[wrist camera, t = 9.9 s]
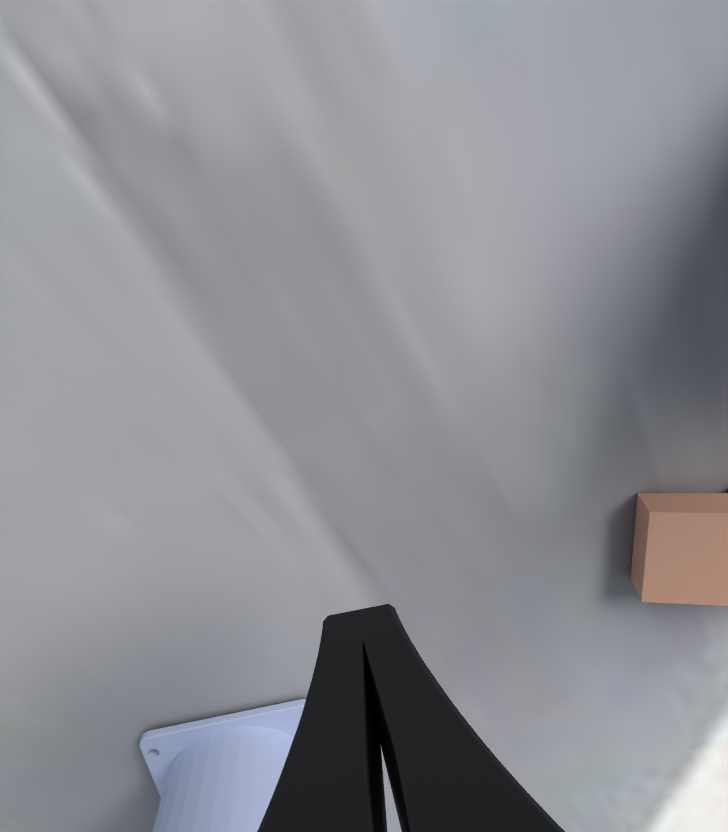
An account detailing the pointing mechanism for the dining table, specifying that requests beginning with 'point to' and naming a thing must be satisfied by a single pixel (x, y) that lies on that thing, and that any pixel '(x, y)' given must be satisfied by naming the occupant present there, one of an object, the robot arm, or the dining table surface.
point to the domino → (681, 548)
